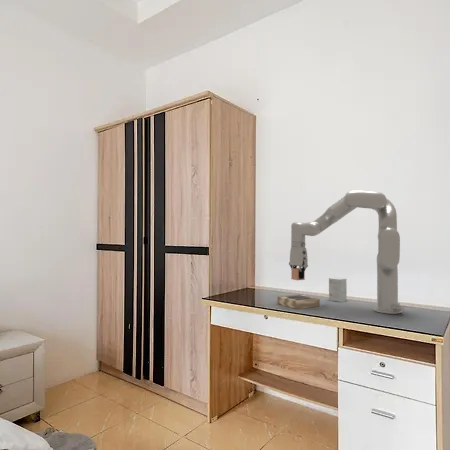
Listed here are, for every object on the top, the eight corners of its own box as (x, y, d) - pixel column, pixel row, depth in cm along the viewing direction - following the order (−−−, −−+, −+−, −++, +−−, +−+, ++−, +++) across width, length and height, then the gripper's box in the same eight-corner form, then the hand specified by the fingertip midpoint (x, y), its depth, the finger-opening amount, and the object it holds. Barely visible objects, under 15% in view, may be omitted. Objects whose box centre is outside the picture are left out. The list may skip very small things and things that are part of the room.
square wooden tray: (319, 306, 195) (319, 298, 195) (296, 309, 187) (296, 300, 187) (299, 301, 209) (299, 293, 209) (277, 303, 201) (277, 296, 201)
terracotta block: (304, 279, 197) (304, 268, 198) (297, 280, 195) (297, 269, 195) (298, 278, 202) (298, 267, 202) (291, 279, 199) (291, 268, 199)
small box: (346, 301, 210) (346, 278, 211) (340, 302, 206) (340, 279, 206) (334, 299, 217) (334, 277, 217) (328, 300, 212) (328, 278, 213)
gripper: (314, 245, 193) (314, 279, 193) (293, 244, 208) (293, 276, 208) (303, 245, 189) (303, 280, 189) (283, 244, 204) (282, 276, 204)
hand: (297, 277), depth 198 cm, fingers closed on terracotta block, 5 cm apart
